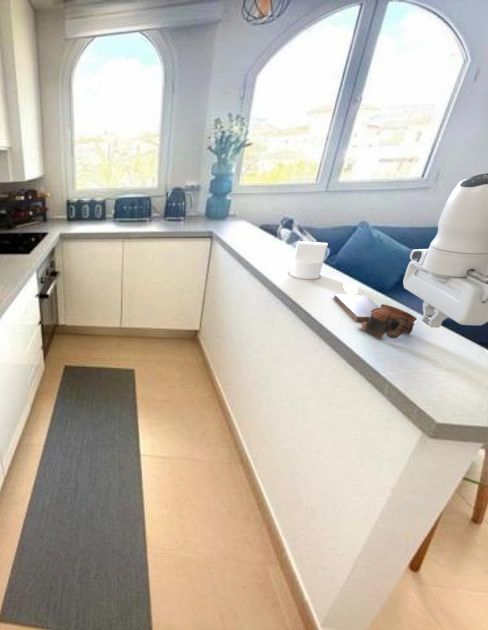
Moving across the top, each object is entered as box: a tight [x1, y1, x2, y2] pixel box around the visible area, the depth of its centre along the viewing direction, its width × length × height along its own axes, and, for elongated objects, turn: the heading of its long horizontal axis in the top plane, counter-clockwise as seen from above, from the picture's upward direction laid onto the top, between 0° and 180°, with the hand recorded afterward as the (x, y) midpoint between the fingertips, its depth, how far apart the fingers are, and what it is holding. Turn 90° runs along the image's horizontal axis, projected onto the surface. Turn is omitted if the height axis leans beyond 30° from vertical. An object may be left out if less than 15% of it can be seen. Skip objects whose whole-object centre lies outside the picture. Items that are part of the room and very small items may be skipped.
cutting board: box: [333, 293, 392, 323], centre depth 99 cm, size 8×16×2 cm, turn 163°
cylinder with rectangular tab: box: [289, 240, 329, 280], centre depth 124 cm, size 9×9×12 cm
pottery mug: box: [360, 303, 418, 339], centre depth 86 cm, size 12×10×8 cm
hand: (430, 324), depth 73 cm, fingers closed
